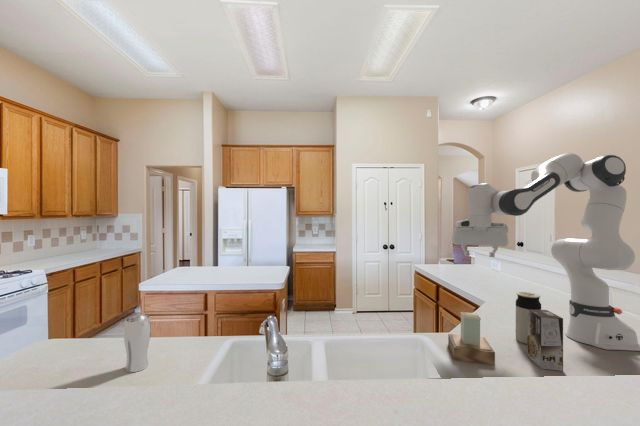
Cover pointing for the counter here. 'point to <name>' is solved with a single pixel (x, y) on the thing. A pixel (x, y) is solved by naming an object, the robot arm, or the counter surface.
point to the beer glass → (137, 342)
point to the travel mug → (525, 312)
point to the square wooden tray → (471, 350)
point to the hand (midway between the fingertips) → (479, 256)
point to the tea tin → (470, 328)
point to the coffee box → (545, 339)
